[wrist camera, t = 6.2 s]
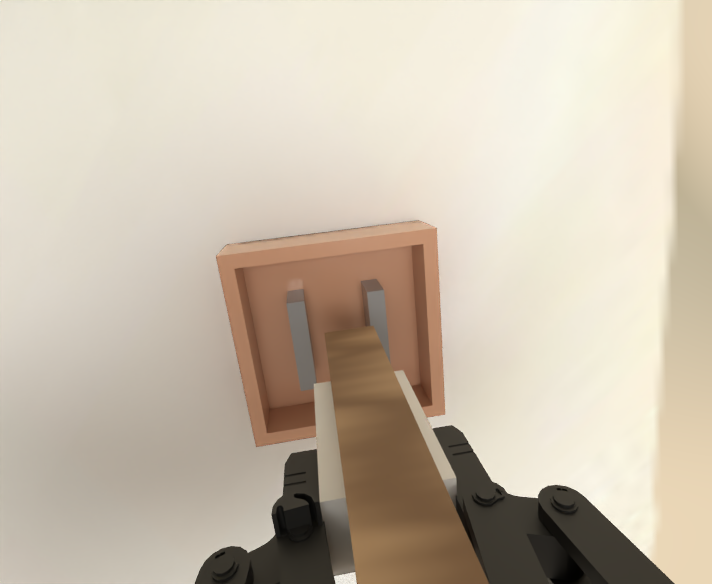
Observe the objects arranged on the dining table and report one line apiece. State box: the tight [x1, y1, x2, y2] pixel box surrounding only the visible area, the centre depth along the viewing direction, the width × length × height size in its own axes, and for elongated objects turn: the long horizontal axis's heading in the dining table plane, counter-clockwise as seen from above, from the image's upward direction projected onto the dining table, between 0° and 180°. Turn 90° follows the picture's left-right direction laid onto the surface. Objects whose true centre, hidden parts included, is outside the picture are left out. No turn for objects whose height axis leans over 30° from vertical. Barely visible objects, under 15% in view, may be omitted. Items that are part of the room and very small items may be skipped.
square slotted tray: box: [216, 220, 445, 447], centre depth 26 cm, size 12×12×4 cm
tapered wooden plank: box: [324, 326, 489, 584], centre depth 14 cm, size 2×5×14 cm, turn 6°
